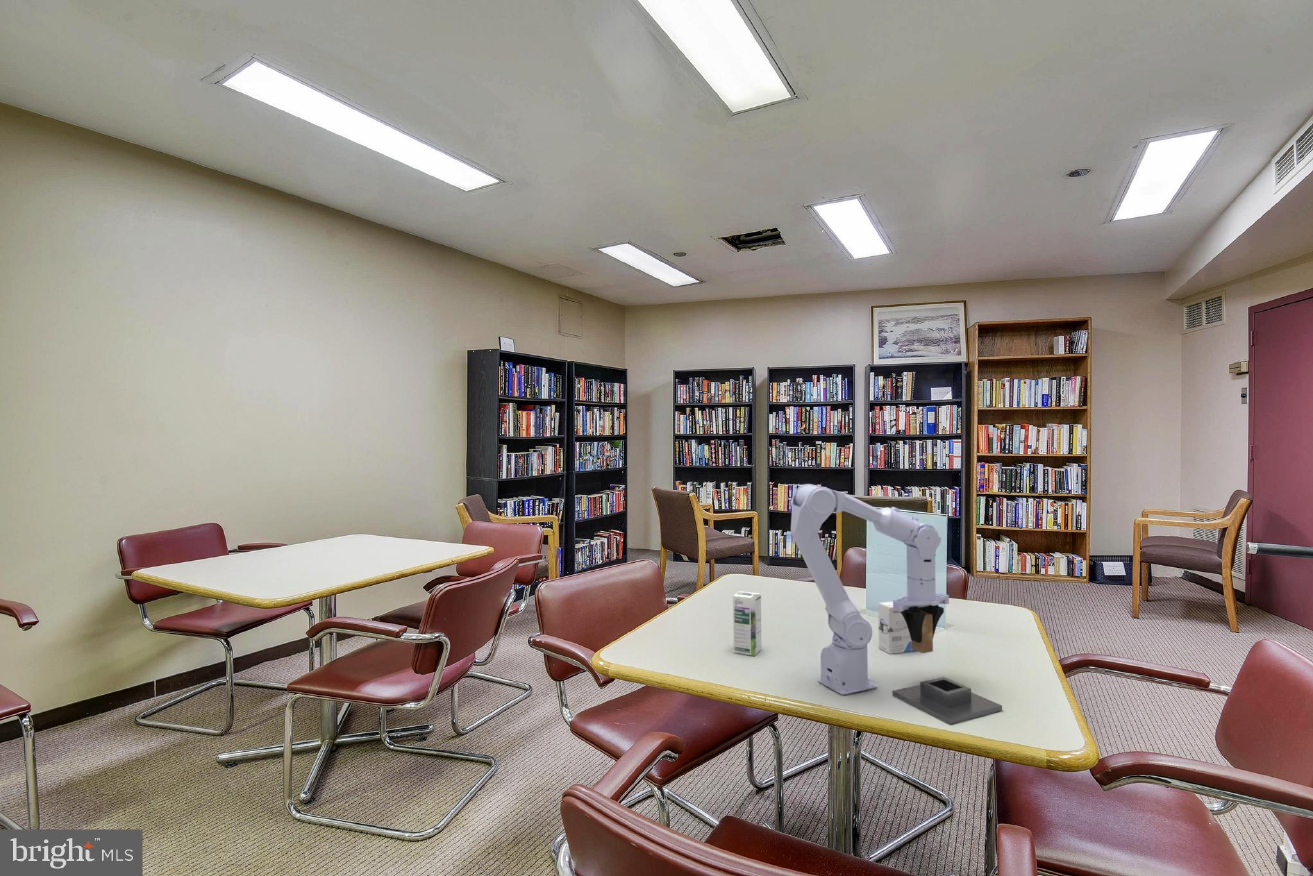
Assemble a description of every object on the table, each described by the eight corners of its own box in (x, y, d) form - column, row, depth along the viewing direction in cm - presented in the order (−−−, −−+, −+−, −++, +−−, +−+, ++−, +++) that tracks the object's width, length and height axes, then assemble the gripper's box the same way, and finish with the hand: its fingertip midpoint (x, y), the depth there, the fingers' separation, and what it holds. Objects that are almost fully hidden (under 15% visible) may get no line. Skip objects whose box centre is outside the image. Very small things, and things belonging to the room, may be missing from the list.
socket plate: (949, 724, 110) (949, 705, 110) (892, 695, 123) (892, 678, 123) (1002, 710, 115) (1001, 692, 115) (941, 684, 128) (941, 667, 128)
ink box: (906, 644, 153) (905, 599, 153) (920, 651, 148) (919, 604, 149) (877, 648, 151) (877, 601, 151) (890, 655, 146) (889, 607, 146)
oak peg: (922, 653, 128) (922, 616, 128) (911, 648, 131) (911, 612, 131) (932, 651, 129) (932, 614, 129) (921, 647, 132) (921, 610, 132)
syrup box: (732, 653, 148) (732, 595, 149) (740, 646, 154) (740, 589, 154) (754, 656, 146) (754, 597, 146) (762, 649, 151) (761, 592, 151)
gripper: (910, 585, 123) (911, 650, 123) (960, 578, 129) (961, 640, 129) (885, 578, 130) (886, 640, 130) (933, 571, 136) (934, 631, 136)
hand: (921, 640), depth 130 cm, fingers closed on oak peg, 3 cm apart
